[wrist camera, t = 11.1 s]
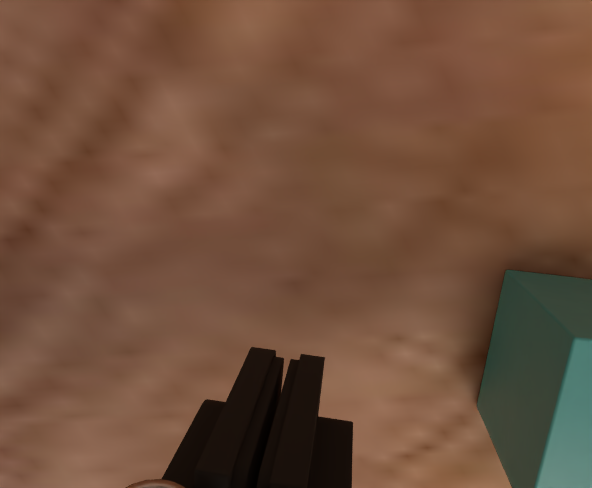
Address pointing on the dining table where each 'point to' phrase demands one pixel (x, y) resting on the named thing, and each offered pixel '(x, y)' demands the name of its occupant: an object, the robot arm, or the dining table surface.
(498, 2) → the dining table surface
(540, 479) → the teal block
